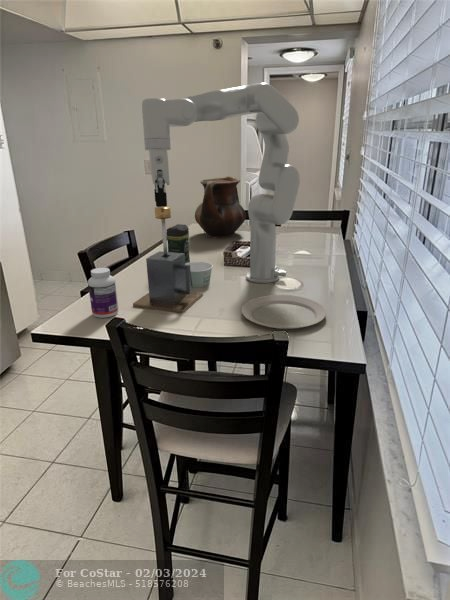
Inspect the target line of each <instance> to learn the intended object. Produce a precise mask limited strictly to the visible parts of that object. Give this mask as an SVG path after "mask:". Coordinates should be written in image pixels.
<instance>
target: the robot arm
mask: <svg viewBox="0 0 450 600" xmlns="http://www.w3.org/2000/svg"><path fill="white" fill-rule="evenodd" d="M141 110H142V111H141V112H142V114H141V115H142V127H143V141H144V151H148V154H149V155H148V156H149V166H150V167H149V168H150V175H151V182H152V185H153V186H154V202H155V207H168V199H167V190H166V185H167V186H169V185H170V183H171V182H170V168H169V167H170V166H169V156H168V155H169V154H168V151H171V129H170V128H172V127H173V128H174V127H178V128H179V127H188V126H190V125H192V124H193V123H197V122H214V121H215V122H216V121H223V120H226V119H227V120H228V119H231V118H236V117H241V116H247V115H251V114H256V115H255V125H256V127H257V129H258V131H259V133H260V135H261V137H262V139H263V142H264V151H263V157H262V161H261V165H260V170H259V173H258V184H259V187H260V188H261V189H264V190H266V191H270V192H273V194H269V193H257V194H255V195H254V196H252V197H251V198H250V200H249V202H248V205H247V214H248V218H249V226H250V240H249V241H250V247H249V249H250V250H249V252H250V253H249V255H250V256H249V257H250V259H249V261H250V263H249V265H250V266H249V267H250V269H249V272H247V273H246V274H245V278H246V280H247V281H250V282H251V283H252V282H253V283H258V284H269V283H274V282H277V281H278V280H280V277H284V278H286V277H287V271H285V270H284V269H279V268H278V265H276V256H277V255H276V253H277V228H276V225H278V226H279V225H280V226H282V225H284V224H286V223H288V222H289V220H290V219H291V217H292V215H293V212H294V208H295V204H296V200H297V195H298V192H299V187H300V183H301V181H300V180H301V177H300V173H299V170H298V168H297V167H295V166H294V165H293V164H288V158H289V152H290V149H289V148H290V146H289V141H288V138H287V136H286V135H290V134H292V133H293V132H295V130H296V129H297V127H298V125H299V121H300V119H299V114H298V111H297V109H296V107H295V106H293V105H292V103H290V102H289V100H287V98H286V97H285V96H283V94H282V93H281V92H279V91H278V90H277V89H276V88H275V87H273V85H271V84H269V83H267V82H258V83H251V84H246V85H240V86H234V87H227V88H221V89H215V90H211V91H207V92H204V93H201V94H200V93H199V94H196V95H192V96H191V95H190V96H186V97H179V98H173V99H171V98H170V99H165V98H161V97H148V98H144V99H143V100H142V101H141Z"/></svg>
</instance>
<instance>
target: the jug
mask: <svg viewBox="0 0 450 600" xmlns="http://www.w3.org/2000/svg"><path fill="white" fill-rule="evenodd" d="M199 181H200V184H201V185H202V186H203V190H204V192H203V193H204V194H203V198H202V202H201V203H200V204H198V206H197V207H196V210H195V213H194V218H195V219H194V220H195V222H196V223H197V224H198V226H199V227H200V228H201V229H202V230H203V232H204V233H205V236H206V237H208V236H209V237H208V238H213V237H217V238H216V239H223V237H226V238H231V237H234V236H235V235H236V232H237V231H238V229H239V228H240V227H242V225H243V223H244V222H245V221H246V219H247V213H246V210H245V209H244V207H243V206H242V205H241V203H240V200H239V199H240V198H239V192H238V185H239V183H241V180H240V179H239V178H236V177H235V178H234V177H232V176H229V175H228V176H225V177H218V178H217V177H216V178H215V177H214V178H206V179H201V180H199ZM233 235H234V236H233ZM230 236H231V237H230Z"/></svg>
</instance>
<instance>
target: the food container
mask: <svg viewBox="0 0 450 600" xmlns="http://www.w3.org/2000/svg"><path fill="white" fill-rule="evenodd" d="M185 265H190V273H191V288H192V287H194V288H197V287H198V288H199V287H205V286H207V285H209V284H210V283H211V276H212V270H213V267H214V265H213V264H212V263H210V262H206V261H191V262H189V263H186V264H185Z"/></svg>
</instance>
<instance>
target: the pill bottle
mask: <svg viewBox="0 0 450 600" xmlns="http://www.w3.org/2000/svg"><path fill="white" fill-rule="evenodd" d="M110 274H111V270H110V268H108V267H97V268H92V269H91V270H90V276H91V277H90V278H89V279H88V280H87V286H88V293H89V294H88V295H89V300H90V307H91V314H92V316H94V317H95V318H98V319H106V318H112V317H114V316H116V315H117V314H118V312H119V303H118V294H117V287H116V286H117V285H116V278H115V277H114V276H112V275H110Z"/></svg>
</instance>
